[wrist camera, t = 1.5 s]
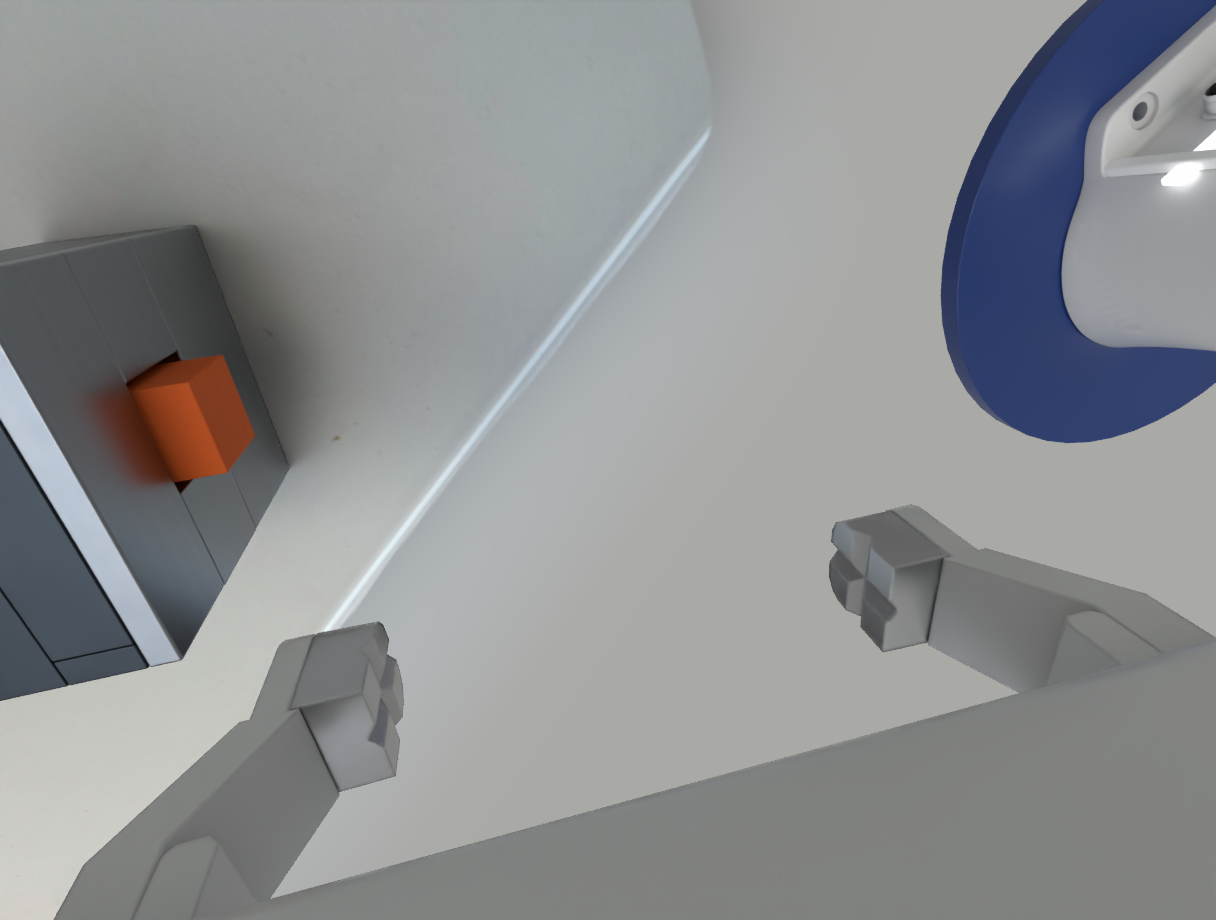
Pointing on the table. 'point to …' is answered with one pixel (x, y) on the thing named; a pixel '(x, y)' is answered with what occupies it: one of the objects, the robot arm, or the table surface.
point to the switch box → (112, 459)
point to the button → (193, 416)
